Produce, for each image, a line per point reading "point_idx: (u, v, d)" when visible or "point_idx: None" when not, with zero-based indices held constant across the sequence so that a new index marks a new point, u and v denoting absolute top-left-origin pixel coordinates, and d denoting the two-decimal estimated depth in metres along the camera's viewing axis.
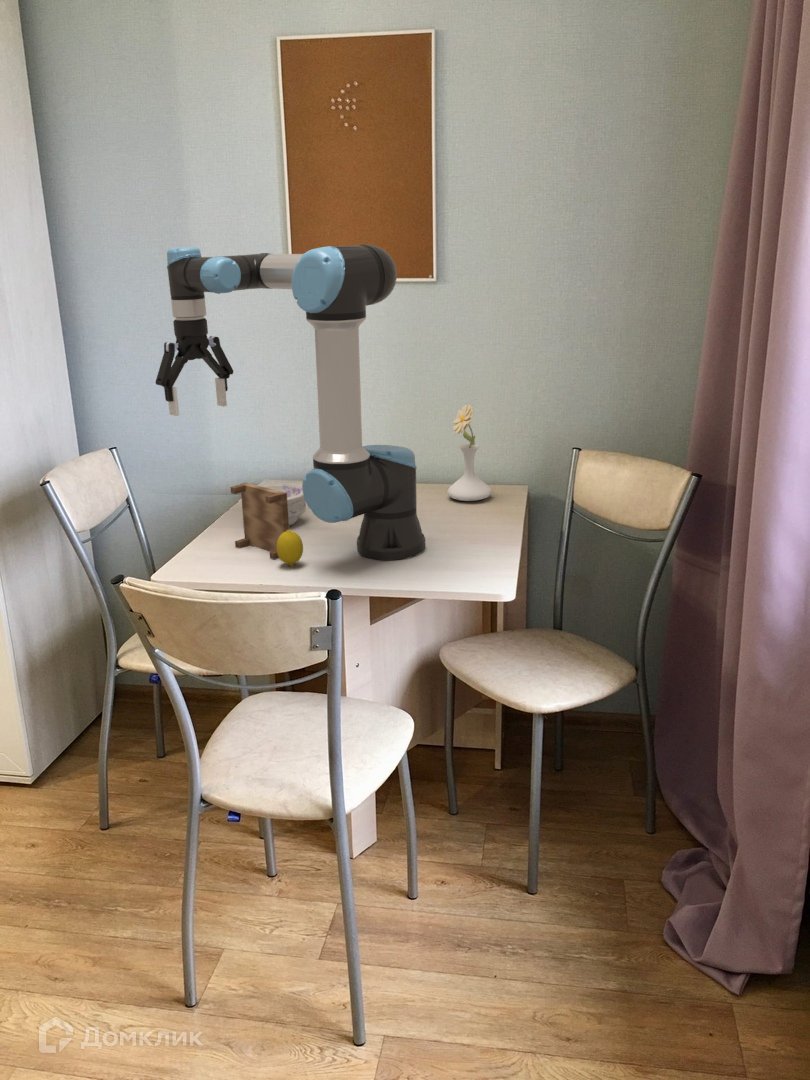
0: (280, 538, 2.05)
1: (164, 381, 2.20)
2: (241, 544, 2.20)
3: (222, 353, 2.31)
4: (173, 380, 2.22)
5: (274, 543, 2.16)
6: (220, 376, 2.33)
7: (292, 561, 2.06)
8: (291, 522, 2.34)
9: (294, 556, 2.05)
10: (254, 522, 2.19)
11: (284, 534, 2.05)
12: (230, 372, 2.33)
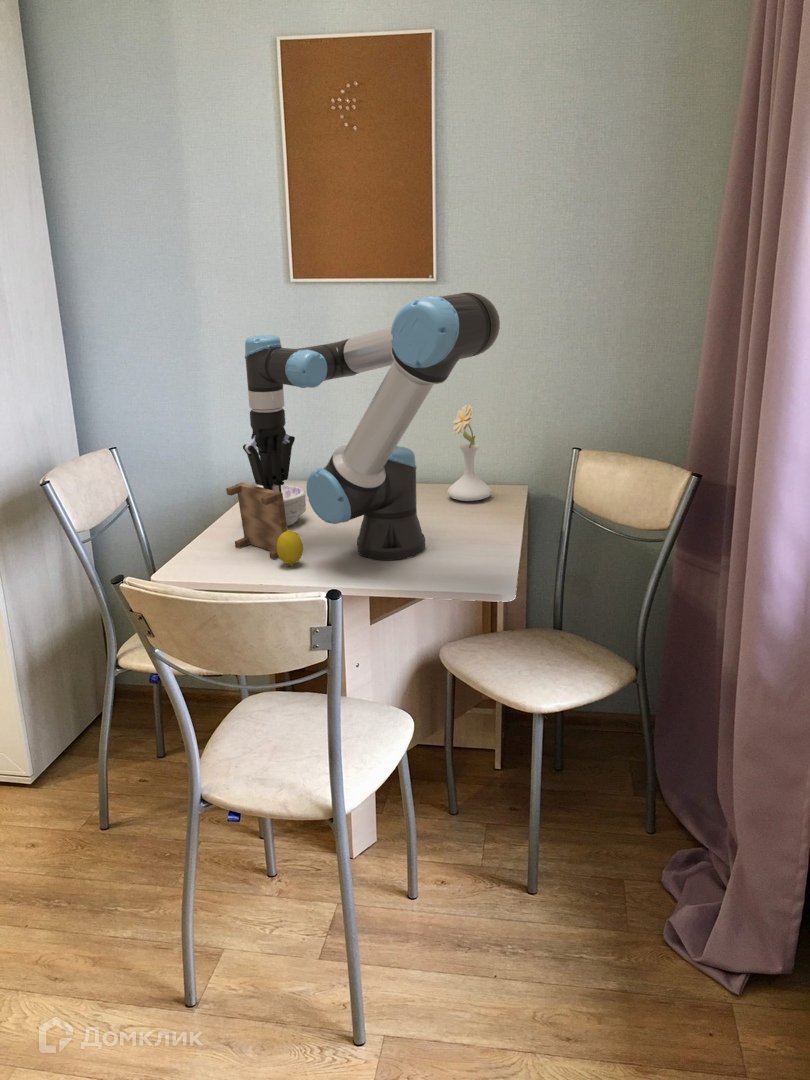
0: (280, 538, 2.05)
1: (264, 481, 2.13)
2: (240, 544, 2.20)
3: (289, 454, 2.17)
4: (270, 479, 2.15)
5: (273, 542, 2.16)
6: (274, 480, 2.17)
7: (292, 561, 2.06)
8: (291, 522, 2.34)
9: (294, 556, 2.05)
10: (252, 522, 2.19)
11: (284, 534, 2.05)
12: (284, 477, 2.18)
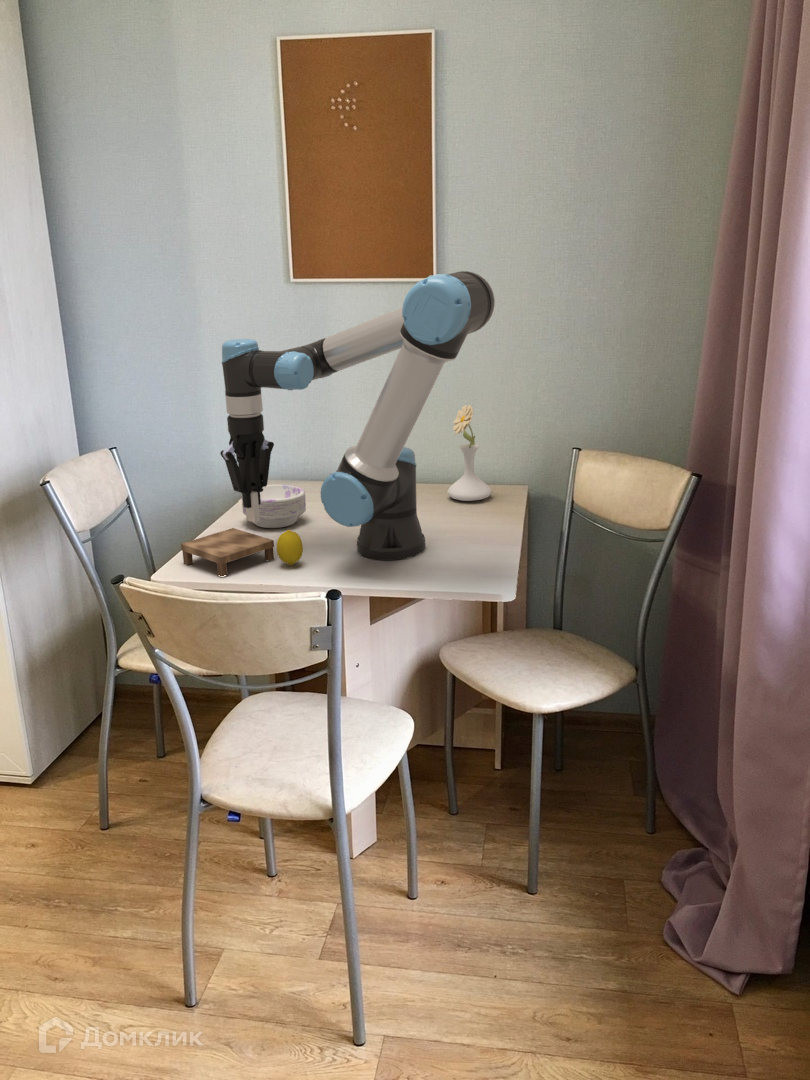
0: (280, 538, 2.05)
1: (242, 488, 2.09)
2: None
3: (268, 460, 2.13)
4: (249, 485, 2.10)
5: None
6: (253, 487, 2.13)
7: (292, 561, 2.06)
8: (291, 522, 2.34)
9: (294, 556, 2.05)
10: None
11: (284, 534, 2.05)
12: (264, 483, 2.13)
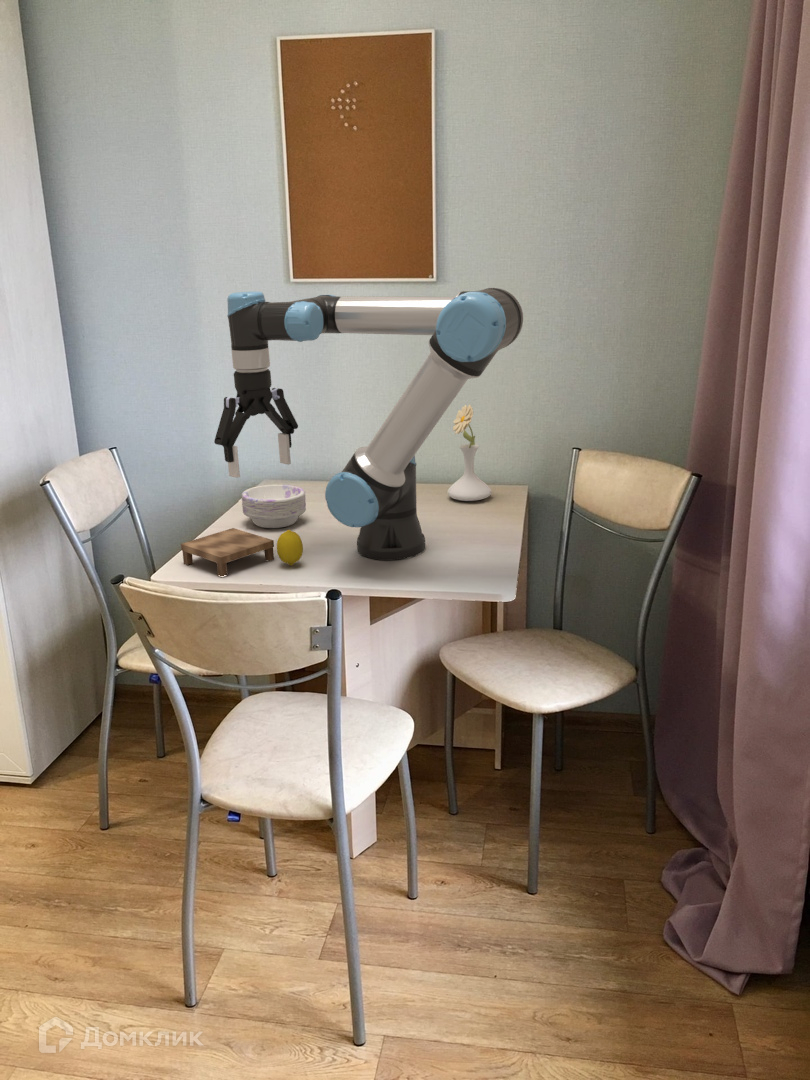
0: (280, 538, 2.05)
1: (224, 440, 1.98)
2: None
3: (286, 406, 2.08)
4: (234, 439, 2.00)
5: None
6: (283, 431, 2.11)
7: (292, 561, 2.06)
8: (291, 522, 2.34)
9: (294, 556, 2.05)
10: None
11: (284, 534, 2.05)
12: (294, 427, 2.11)
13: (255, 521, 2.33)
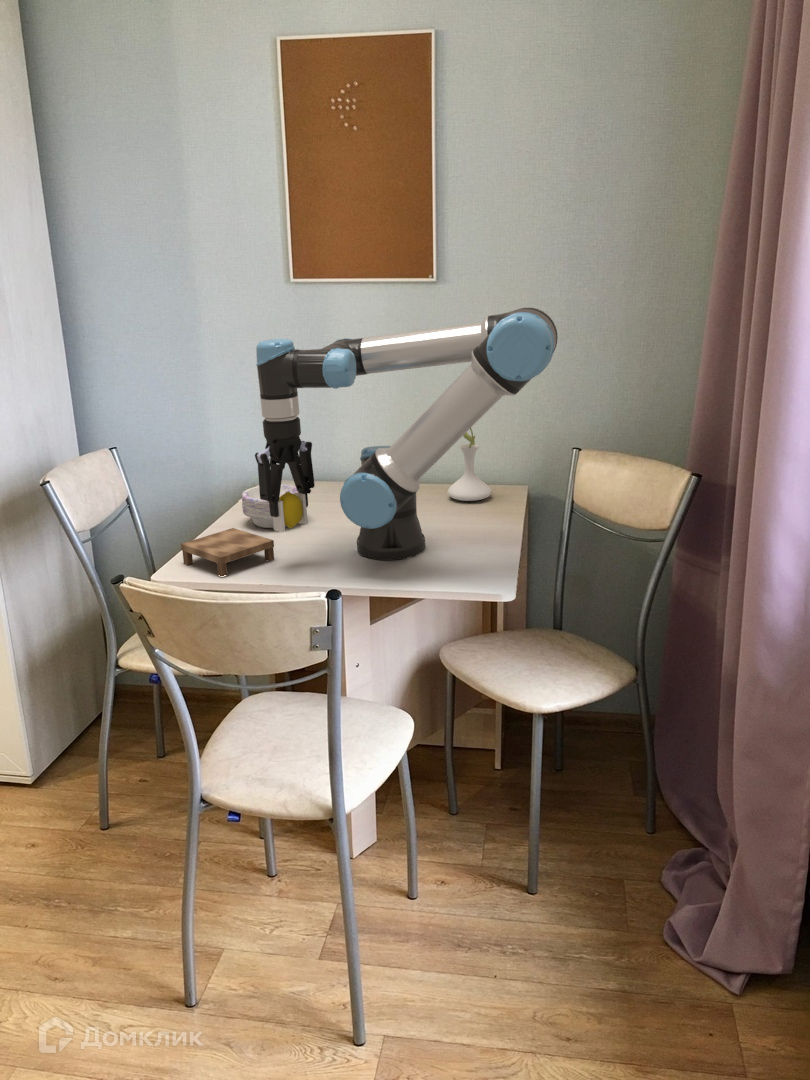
0: None
1: (269, 496, 1.98)
2: None
3: (310, 461, 2.05)
4: (277, 493, 2.00)
5: None
6: (300, 489, 2.06)
7: (292, 524, 2.03)
8: None
9: (294, 518, 2.03)
10: None
11: (283, 496, 2.03)
12: (311, 485, 2.06)
13: (255, 521, 2.33)
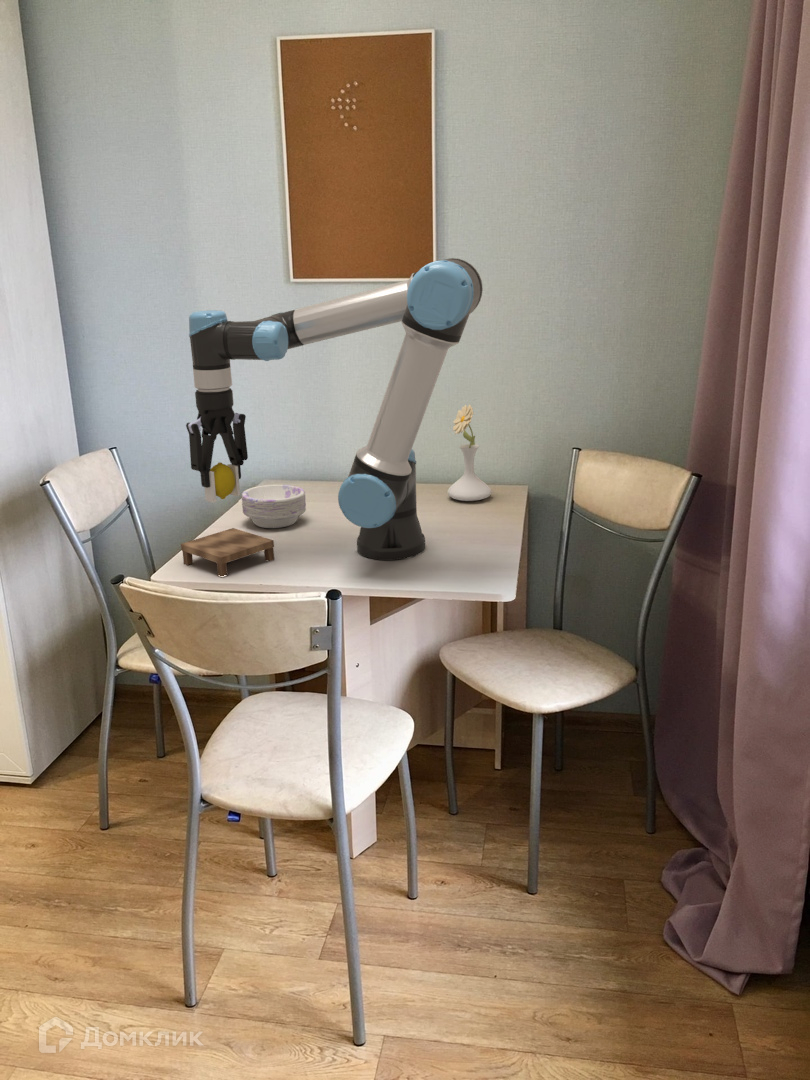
0: (211, 470, 2.04)
1: (200, 466, 2.00)
2: None
3: (243, 434, 2.06)
4: (208, 464, 2.01)
5: None
6: (233, 461, 2.07)
7: (223, 494, 2.05)
8: (291, 522, 2.34)
9: (225, 489, 2.04)
10: None
11: (215, 466, 2.04)
12: (244, 457, 2.08)
13: (255, 521, 2.33)
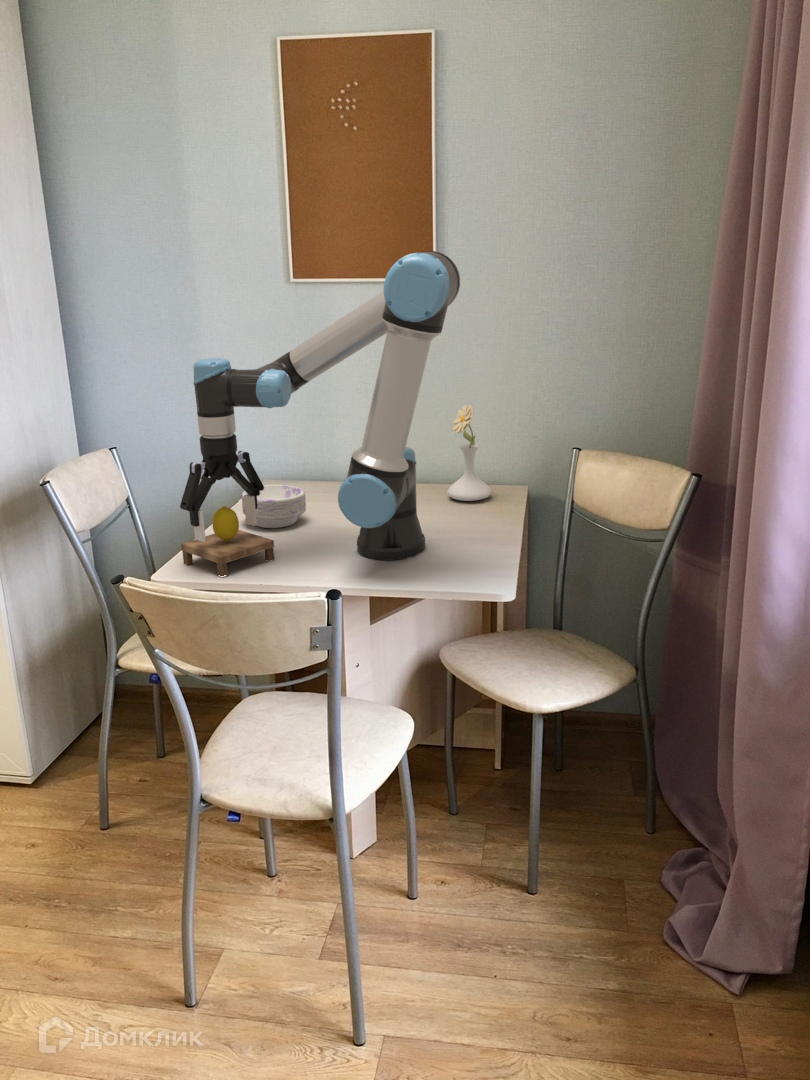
0: (215, 514, 2.07)
1: (190, 506, 2.00)
2: None
3: (252, 469, 2.10)
4: (199, 504, 2.02)
5: None
6: (249, 493, 2.12)
7: (227, 537, 2.08)
8: (291, 522, 2.34)
9: (229, 532, 2.07)
10: None
11: (219, 510, 2.07)
12: (260, 488, 2.13)
13: None
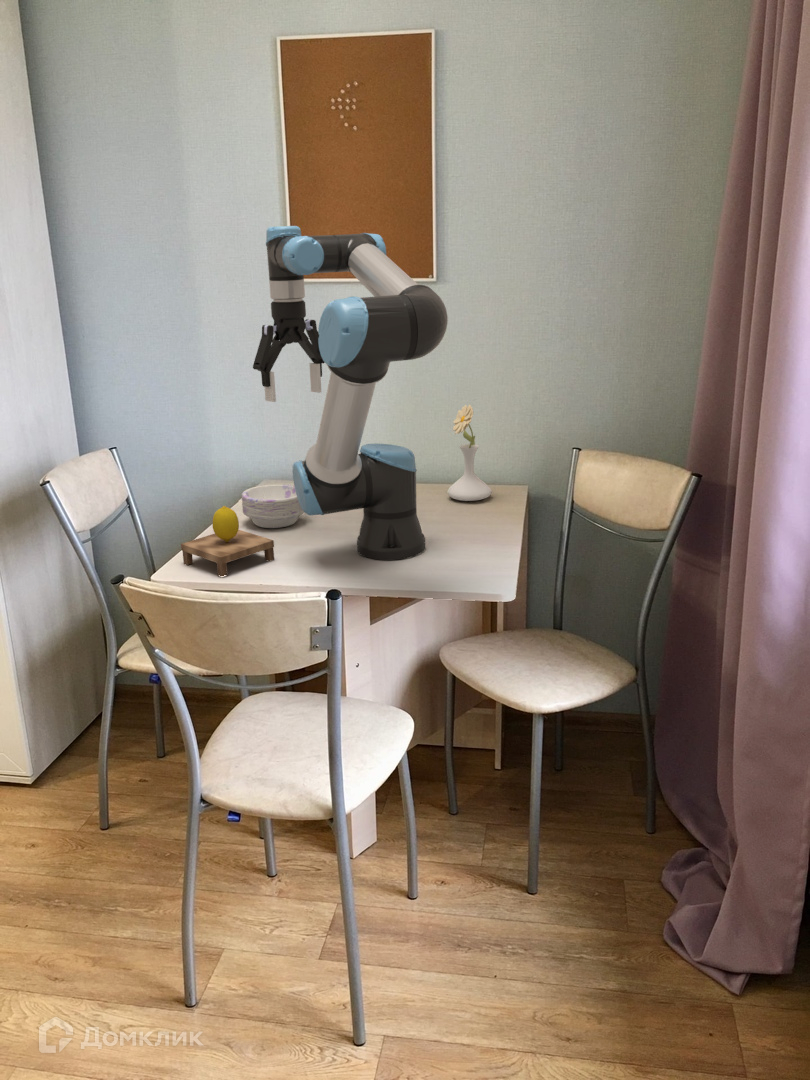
0: (215, 514, 2.07)
1: (262, 365, 2.12)
2: None
3: (318, 337, 2.22)
4: (271, 364, 2.13)
5: None
6: (315, 361, 2.24)
7: (227, 537, 2.08)
8: (291, 522, 2.34)
9: (229, 532, 2.07)
10: None
11: (219, 510, 2.07)
12: None
13: (255, 521, 2.33)
